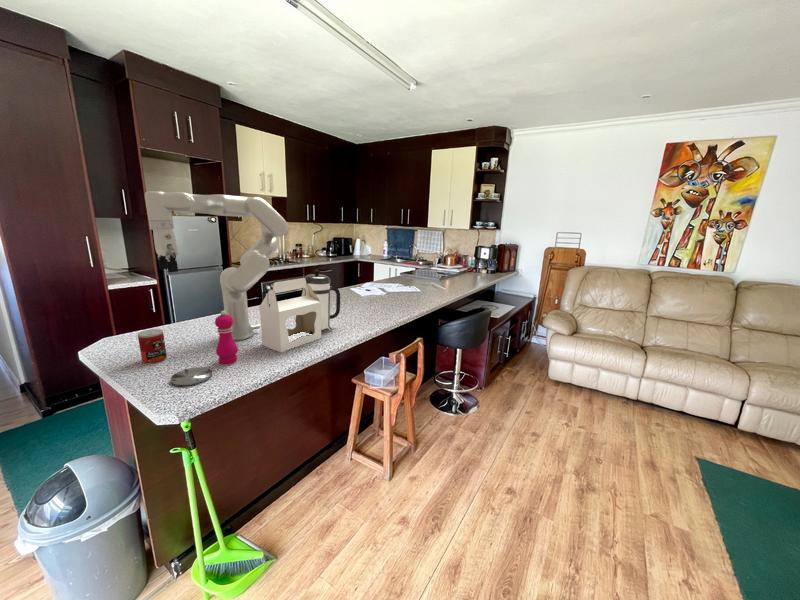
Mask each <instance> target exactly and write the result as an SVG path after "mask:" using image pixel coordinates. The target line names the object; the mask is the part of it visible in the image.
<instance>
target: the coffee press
mask: <svg viewBox="0 0 800 600" xmlns="http://www.w3.org/2000/svg"><path fill="white" fill-rule="evenodd" d="M313 273H314V274H313ZM313 273H310V274H307V275H305V277H304V278H305V279H306V284H310V287H311V288H312V290H313V291H314V293H315V295H316V296H317V298H318V299H319V301H320V308H321V331H324V330H327V331H328V330H330V331H333V328H332V327H331V324H330V321H331V319H335V318H337V317H338V316H339V314H340V311H341V292H340V290H339V288H338V287H335V286H330V285H331V282H332V281H331V278H330V277H329V276H327V275H325V274H323V273H322V274H320V270H319V269H315V270H314V272H313ZM332 291H334V292H335V296H336V297H335V302H336V303H335V313H333V314H331V315H330V313H331V308H330V307H331V306H330V305H331V292H332ZM309 296H310V295H309ZM310 334H313V332H312V331H311V330H310Z"/></svg>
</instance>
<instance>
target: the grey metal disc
mask: <svg viewBox="0 0 800 600" xmlns="http://www.w3.org/2000/svg"><path fill="white" fill-rule="evenodd" d="M211 378H213V370H212V369H211V368H210V367H206V366H205V367H204V366H196V367H190V368H185V369H183V370H182V369H181V370H180V371H178V372H176V373H174V374H173V375H171V377H170V384H171V385H172V386H173V387H178V388H183V387H184V388H185V387H192V386H197V385H200V384H204V383H205V382H207V381H209V380H210V379H211Z"/></svg>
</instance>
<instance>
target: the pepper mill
mask: <svg viewBox="0 0 800 600" xmlns="http://www.w3.org/2000/svg"><path fill="white" fill-rule="evenodd" d="M214 324H215V326H216V327H217V328H216V329H217V333H218V335H219V338H218V343H217V346H216V350H215V351H216V352H215V353H216V355H217V356H218V364H220V365H223V366H226V365H227V366H228V365H232V364H235V363H237V361H238V355H237V353H238V352H239V351H238V350H239V349H238V345H237V344H236V341H234V340H233V338H232V330H233V329H232V324H233V318H232V317H231V316H230V315H226V312H225V311H224V310H221V312H220V315H218V316H217V317H216V318H215V319H214Z"/></svg>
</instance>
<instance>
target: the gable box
mask: <svg viewBox="0 0 800 600" xmlns="http://www.w3.org/2000/svg"><path fill="white" fill-rule="evenodd" d="M270 286H271V289H269V290H268V291H267V293H266V295H265V297H264V299H263V300H262V302H261V304H260V305H259V314H260V315H259V316H260V329H261V331H260V332H261V339H262V340H261V342H262V343H261V344H262V346H263V347H267V348H269V349H271V350H274V351H277V352H278V353H285V352H287V351H290V350H292V349H291V348H293V349H295V348H294V347H296V348H298V347H300V346H299V345H301V346H303V345H302V344H304V345H306V344H305V343H307V344H309V343H308V342H310V341H312V342H314V341H313V340H315V341H317V340H316V339H318V338H321V339H322V330H321V308H320V301H319V299H318V298H317V296H316V295H315V293H314V291H313V290H312V288H311V287H310V284H306V279H305V277H301V278H293V279H287V280H279V281H276V282H275V281H274V282H273V283H272V284H270ZM300 289H302V292H301V296H299V297H294V298H290V299H285V300H284V299H283V300H280V301H278V300H277V295H276V294H279V293H283V292H290V291H294V290H300ZM309 295H310V296H309ZM294 316H295V327H294V328H287V325H286V322H287V320H288V319H289V318H291V317H294ZM310 330H311V331H312V332H313V334H312V335H306V336H301V337H299V338H297V339H296V340H294V341H292V342H289V340H288V336H291V335H293V334H297V333H300V332H306V333H309V334H310ZM318 340H319V339H318ZM310 343H311V342H310ZM297 346H298V347H297ZM289 349H290V350H289ZM286 350H287V351H286Z"/></svg>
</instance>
